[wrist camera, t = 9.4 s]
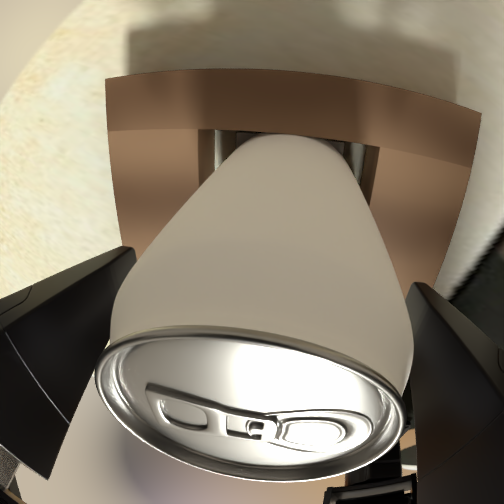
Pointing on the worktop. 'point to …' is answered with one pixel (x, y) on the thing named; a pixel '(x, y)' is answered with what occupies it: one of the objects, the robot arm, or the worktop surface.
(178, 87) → the keyhole plate
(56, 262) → the worktop surface
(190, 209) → the can
